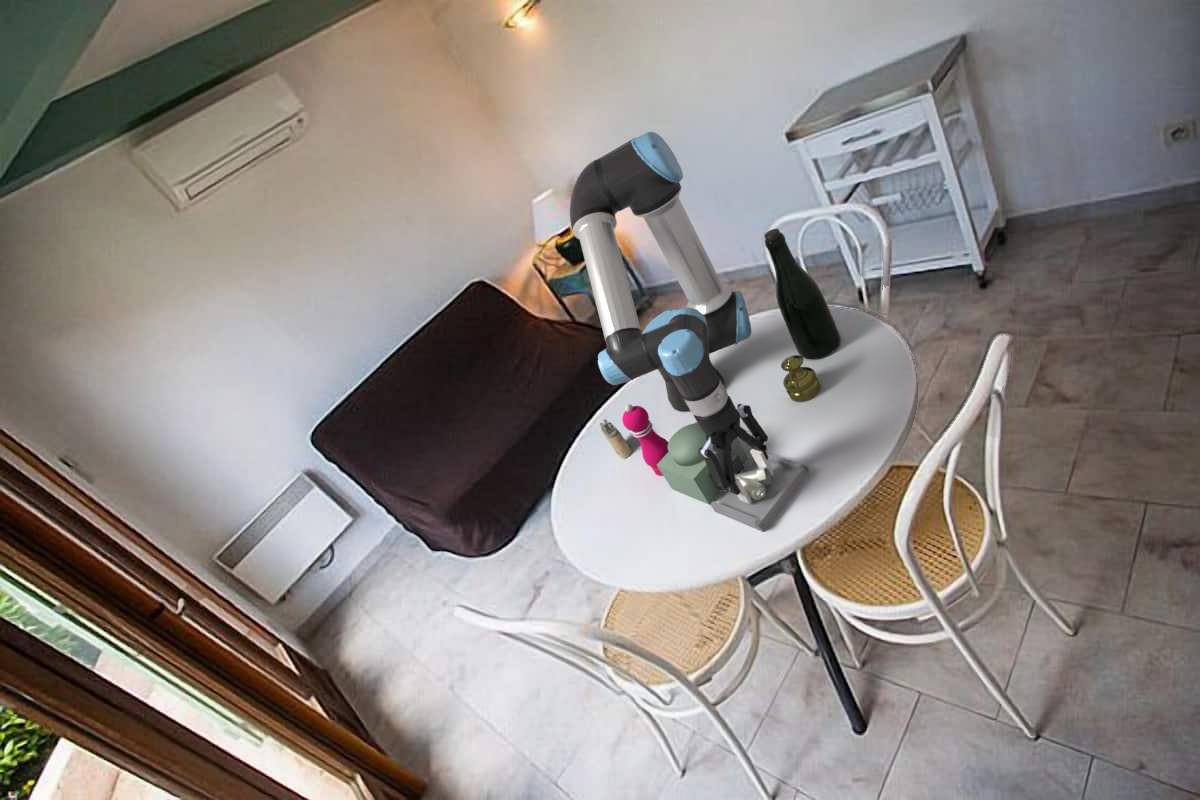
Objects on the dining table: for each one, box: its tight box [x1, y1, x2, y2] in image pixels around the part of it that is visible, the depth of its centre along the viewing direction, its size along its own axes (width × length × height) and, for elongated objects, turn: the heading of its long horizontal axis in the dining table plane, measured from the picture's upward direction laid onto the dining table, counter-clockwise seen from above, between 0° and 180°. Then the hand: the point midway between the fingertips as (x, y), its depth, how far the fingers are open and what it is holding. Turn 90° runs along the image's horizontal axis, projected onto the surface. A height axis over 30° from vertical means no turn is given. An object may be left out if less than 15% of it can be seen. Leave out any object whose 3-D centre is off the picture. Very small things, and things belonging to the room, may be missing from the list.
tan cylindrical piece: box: [599, 418, 633, 459], centre depth 164 cm, size 7×4×10 cm, turn 21°
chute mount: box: [710, 453, 811, 533], centre depth 130 cm, size 13×16×2 cm
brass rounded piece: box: [780, 354, 822, 403], centre depth 145 cm, size 7×7×10 cm
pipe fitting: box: [734, 467, 771, 500], centre depth 130 cm, size 8×4×7 cm
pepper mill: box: [621, 403, 669, 477], centre depth 148 cm, size 7×7×20 cm
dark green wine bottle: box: [764, 228, 842, 360], centre depth 149 cm, size 10×10×33 cm
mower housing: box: [657, 421, 750, 506], centre depth 139 cm, size 14×14×11 cm
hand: (756, 486), depth 130 cm, fingers closed on pipe fitting, 7 cm apart
